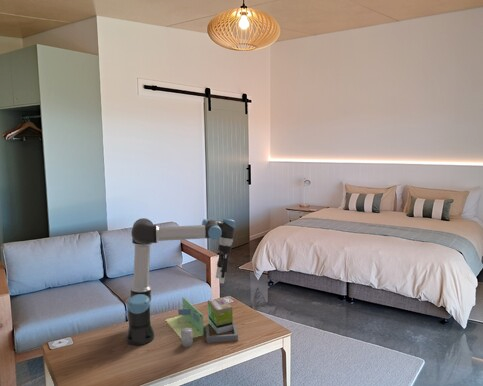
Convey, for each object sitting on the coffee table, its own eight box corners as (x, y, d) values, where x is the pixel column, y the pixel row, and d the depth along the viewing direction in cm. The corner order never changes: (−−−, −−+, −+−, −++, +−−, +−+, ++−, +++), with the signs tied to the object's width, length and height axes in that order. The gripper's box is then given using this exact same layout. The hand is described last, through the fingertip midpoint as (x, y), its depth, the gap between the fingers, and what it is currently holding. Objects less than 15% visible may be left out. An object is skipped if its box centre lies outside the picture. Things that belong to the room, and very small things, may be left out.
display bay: (206, 342, 215) (206, 337, 214) (206, 330, 228) (205, 325, 227) (238, 340, 216) (237, 335, 216) (235, 328, 230) (235, 323, 229)
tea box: (207, 323, 237) (207, 299, 235) (223, 319, 241) (222, 296, 239) (217, 334, 223) (216, 309, 221) (233, 330, 228) (232, 306, 226)
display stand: (203, 335, 223) (203, 314, 221) (183, 341, 217) (182, 320, 215) (183, 315, 249) (183, 296, 247) (164, 320, 243) (164, 301, 241)
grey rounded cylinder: (181, 347, 210) (181, 333, 209) (181, 341, 216) (181, 328, 215) (192, 346, 211) (192, 332, 210) (192, 340, 217) (192, 327, 216)
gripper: (235, 248, 223) (229, 286, 223) (227, 243, 248) (222, 276, 247) (222, 247, 222) (216, 284, 221) (216, 241, 246) (210, 275, 246)
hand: (219, 280), depth 234 cm, fingers open, 13 cm apart
